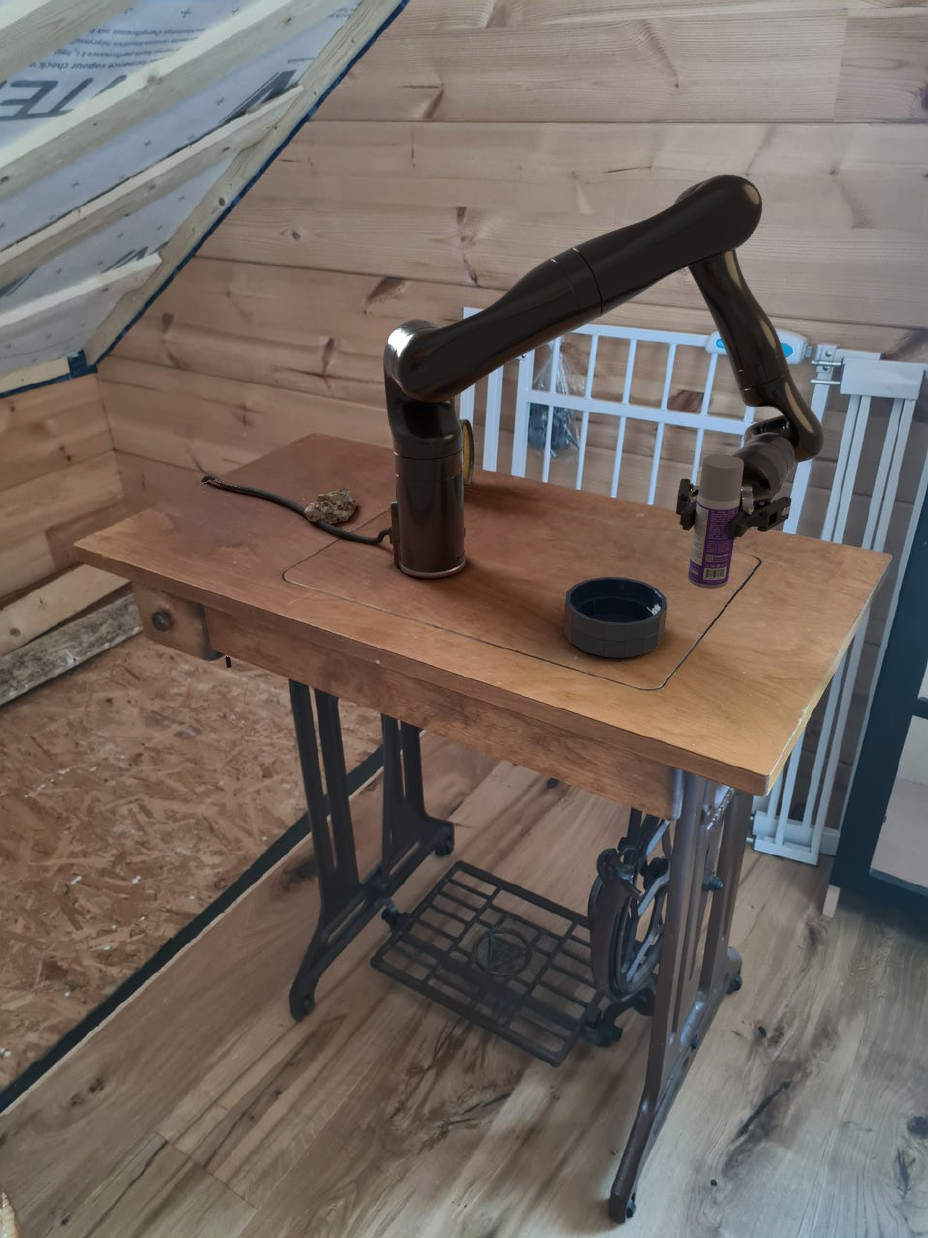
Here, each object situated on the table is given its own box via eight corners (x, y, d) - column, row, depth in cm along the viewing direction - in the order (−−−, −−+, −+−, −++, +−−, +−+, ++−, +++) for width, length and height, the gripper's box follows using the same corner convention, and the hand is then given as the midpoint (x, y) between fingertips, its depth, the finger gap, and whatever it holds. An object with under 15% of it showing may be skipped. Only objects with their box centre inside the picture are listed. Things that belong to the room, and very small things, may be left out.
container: (733, 576, 111) (750, 458, 103) (720, 592, 107) (737, 471, 100) (695, 567, 113) (710, 451, 106) (681, 583, 110) (696, 463, 102)
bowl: (547, 645, 111) (548, 609, 108) (588, 603, 120) (590, 569, 117) (641, 671, 105) (645, 634, 103) (677, 625, 114) (680, 590, 112)
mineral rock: (338, 516, 140) (294, 495, 142) (333, 540, 142) (290, 519, 144) (373, 494, 149) (331, 474, 150) (368, 517, 151) (327, 497, 153)
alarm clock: (463, 502, 150) (461, 405, 142) (431, 500, 151) (427, 403, 143) (476, 478, 159) (475, 385, 151) (446, 476, 160) (443, 384, 152)
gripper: (698, 441, 118) (651, 485, 105) (813, 459, 112) (777, 508, 99) (692, 495, 122) (646, 544, 109) (802, 516, 115) (767, 570, 103)
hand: (708, 527), depth 104 cm, fingers closed on container, 4 cm apart
